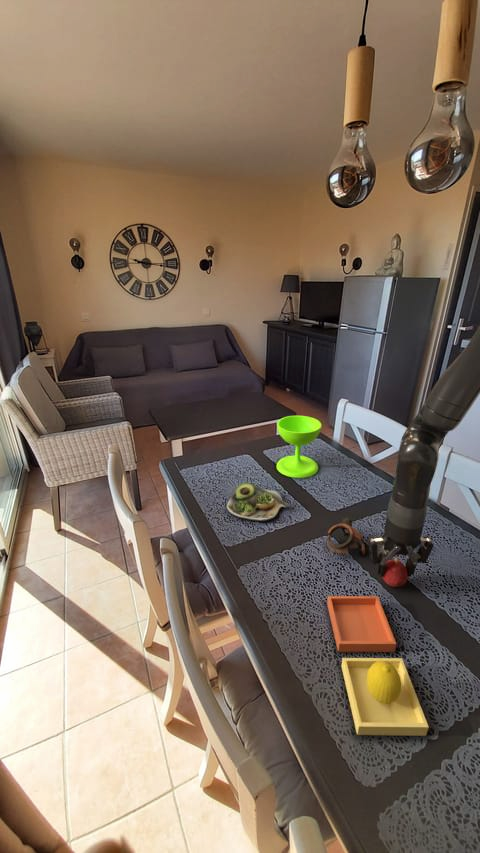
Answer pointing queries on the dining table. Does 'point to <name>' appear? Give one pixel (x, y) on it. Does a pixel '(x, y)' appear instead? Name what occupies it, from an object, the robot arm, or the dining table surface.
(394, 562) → the onion
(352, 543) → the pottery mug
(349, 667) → the cream tray
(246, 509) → the salad plate
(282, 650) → the dining table surface
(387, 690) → the lemon
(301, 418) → the wineglass
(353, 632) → the terracotta tray
